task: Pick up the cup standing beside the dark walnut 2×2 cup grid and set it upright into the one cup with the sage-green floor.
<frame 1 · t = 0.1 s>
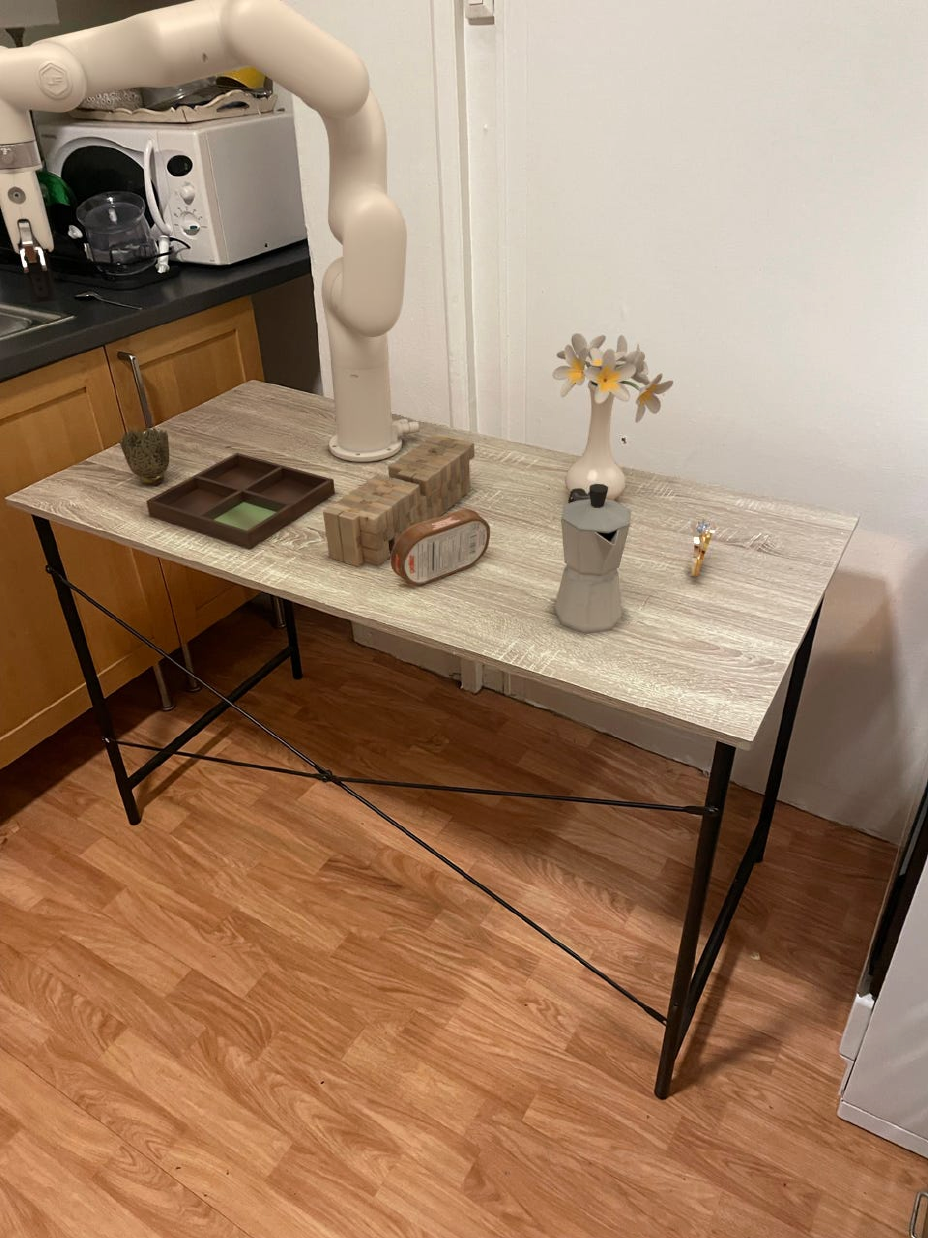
hand: (43, 291, 129), 31 cm above the table, tool pointing down, fingers open, 9 cm apart
cup: (153, 483, 150), on the table
tin: (443, 574, 126), on the table
flower vase: (598, 502, 143), on the table
ring: (695, 575, 126), on the table
grid: (244, 504, 143), on the table
coffee maker: (584, 610, 119), on the table
block tower: (406, 522, 138), on the table
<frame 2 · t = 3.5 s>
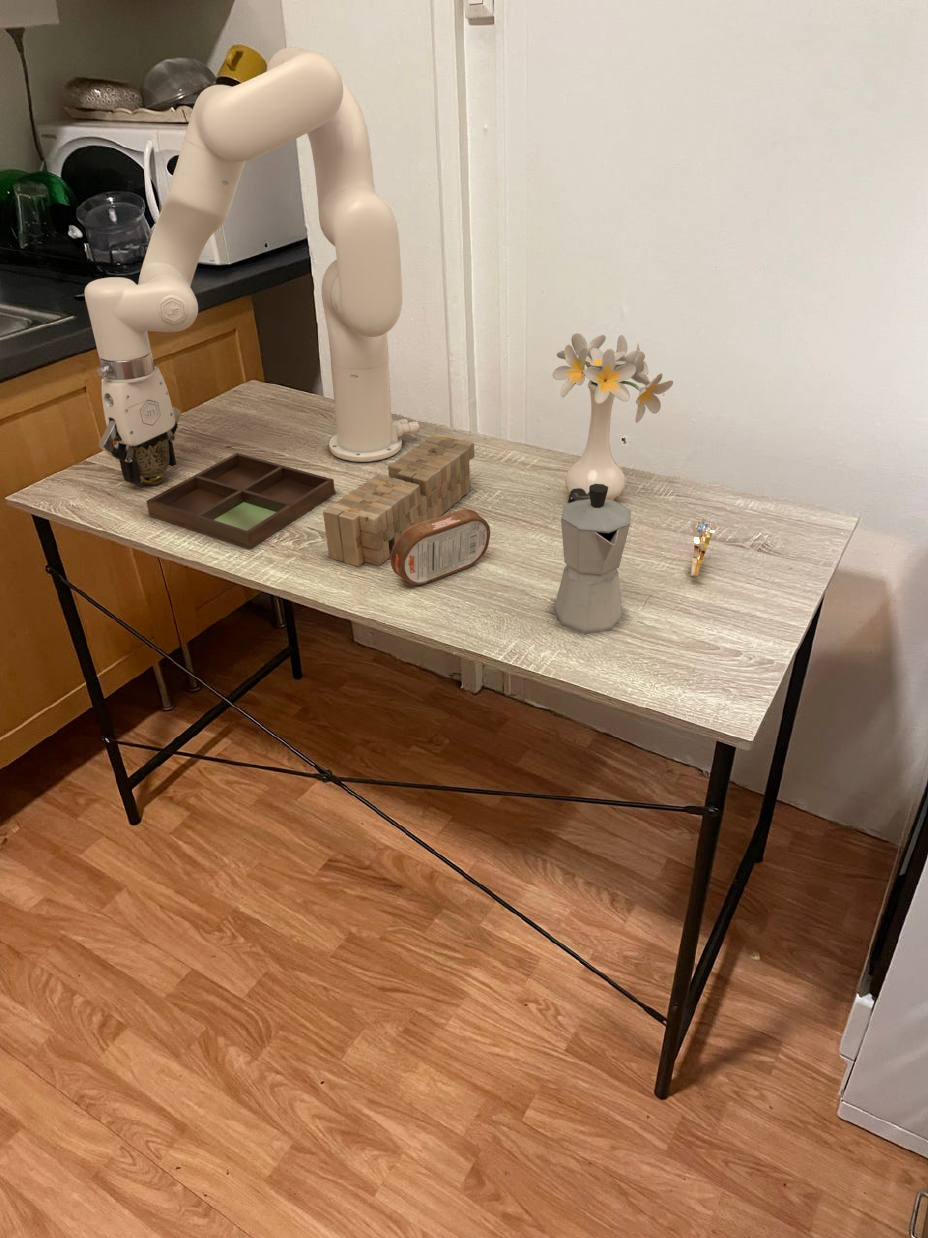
hand: (150, 472, 148), 2 cm above the table, tool pointing down, fingers closed on cup, 7 cm apart
cup: (153, 483, 150), on the table, touching gripper
everything else where it was.
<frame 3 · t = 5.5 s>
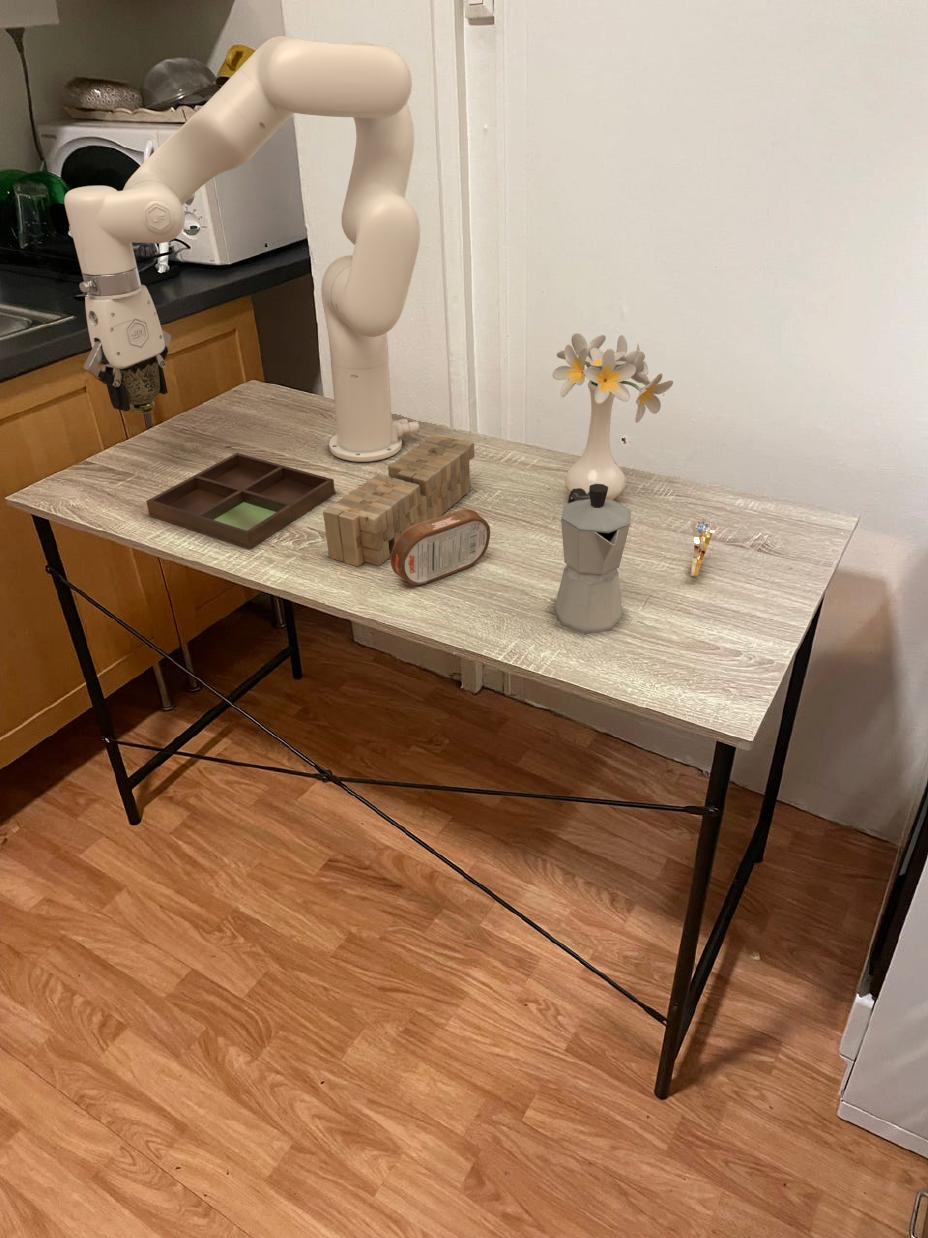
hand: (140, 399, 141), 14 cm above the table, tool pointing down, fingers closed on cup, 7 cm apart
cup: (144, 412, 143), point 12 cm above the table, touching gripper
everything else where it was.
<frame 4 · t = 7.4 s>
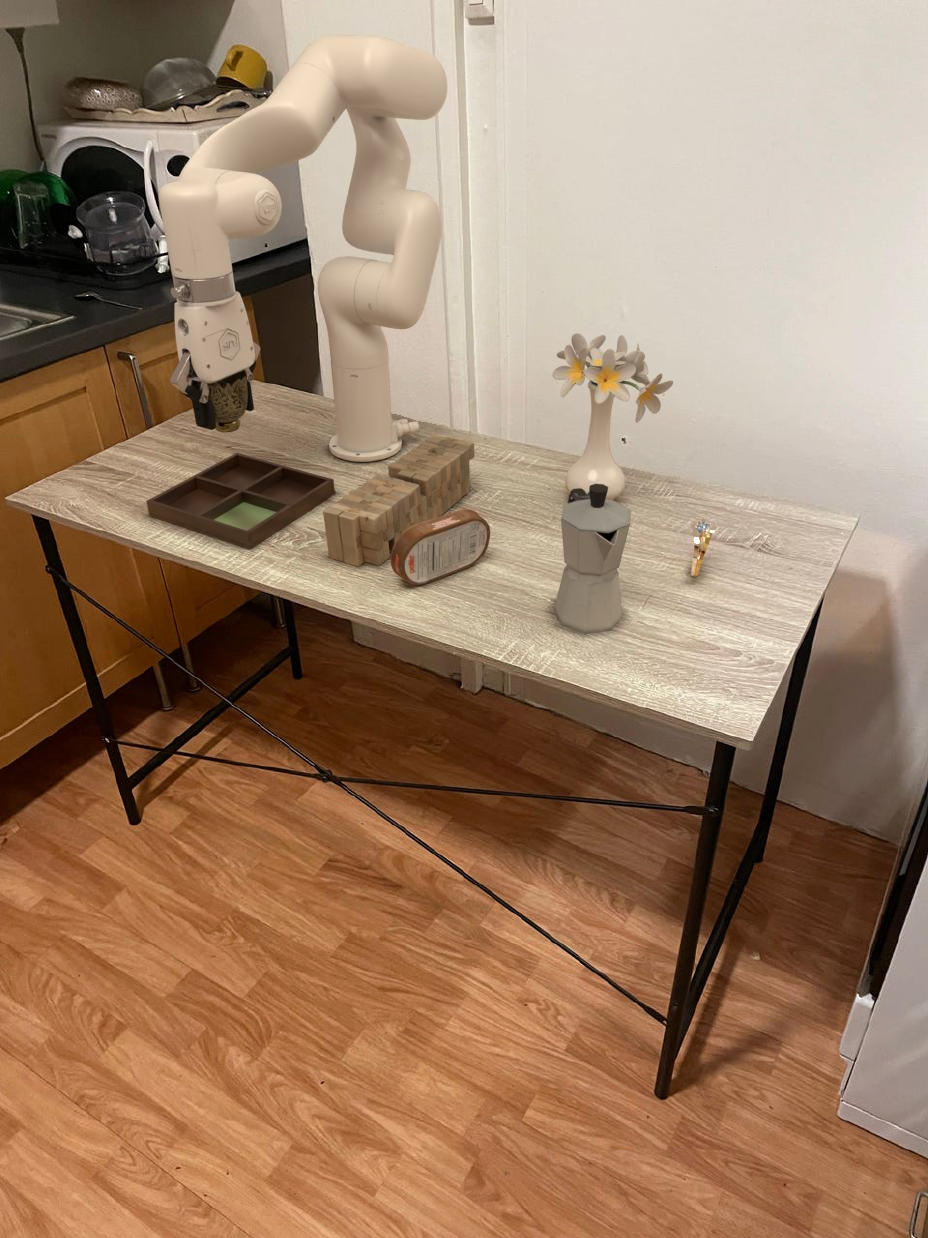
hand: (225, 417, 128), 17 cm above the table, tool pointing down, fingers closed on cup, 7 cm apart
cup: (228, 430, 129), point 15 cm above the table, touching gripper
everything else where it was.
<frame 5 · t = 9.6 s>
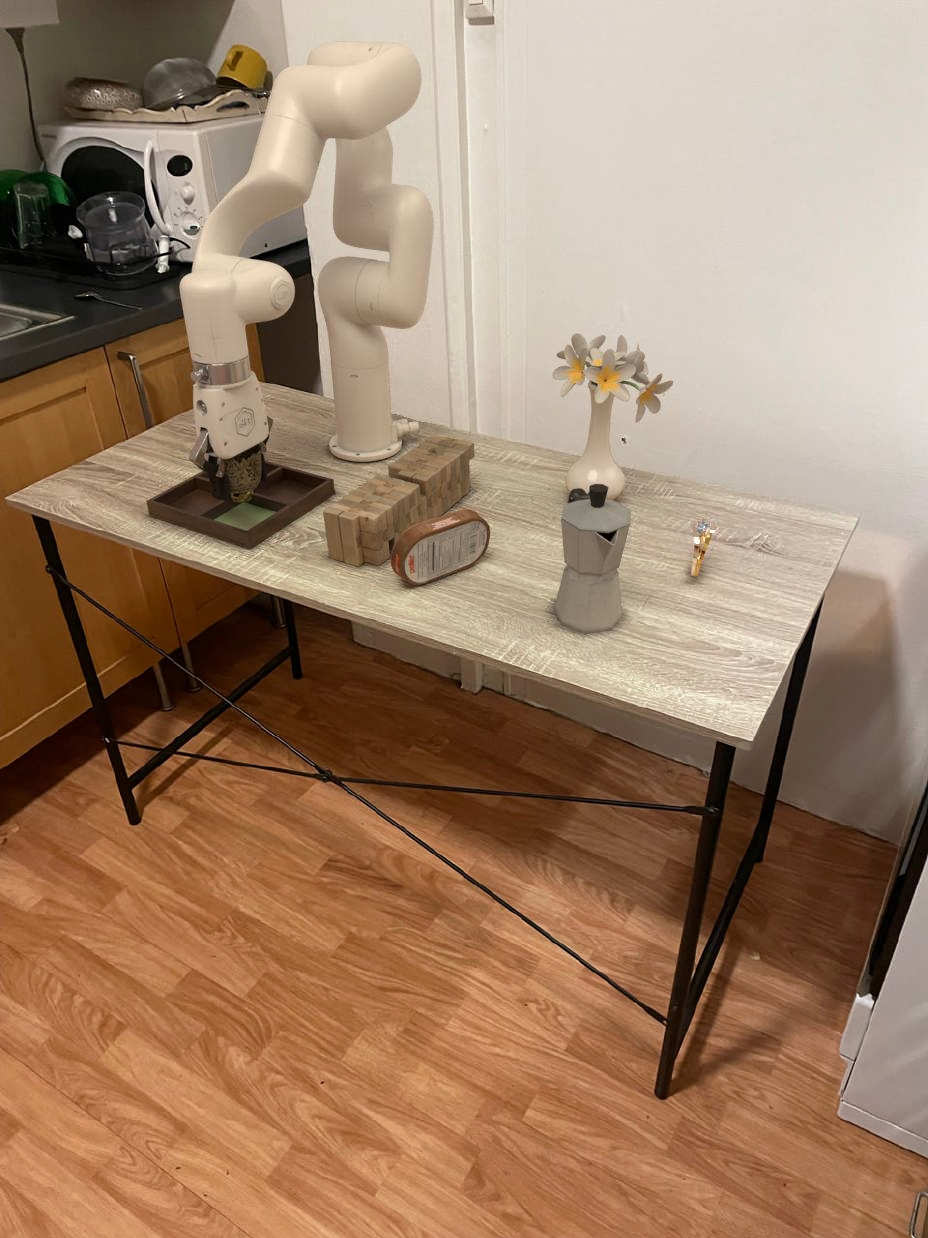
hand: (240, 487, 134), 6 cm above the table, tool pointing down, fingers closed on cup, 7 cm apart
cup: (242, 499, 135), point 4 cm above the table, touching gripper
everything else where it was.
when the fingers open (3 cm above the table, at t = 11.2 s): cup stays where it is, resting on grid.
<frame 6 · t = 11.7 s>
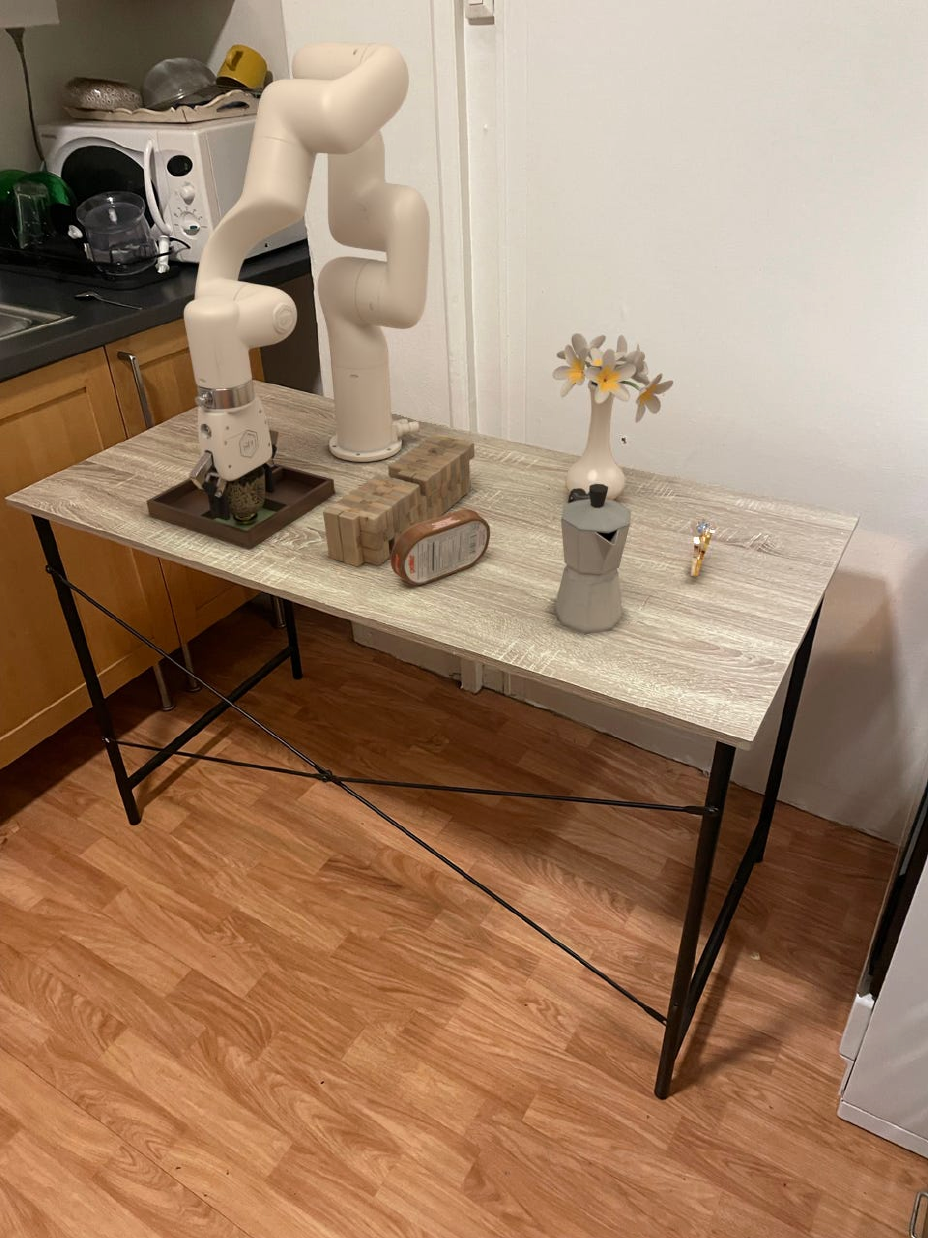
hand: (244, 503, 135), 4 cm above the table, tool pointing down, fingers open, 9 cm apart
cup: (246, 521, 137), point 1 cm above the table, touching grid
everything else where it was.
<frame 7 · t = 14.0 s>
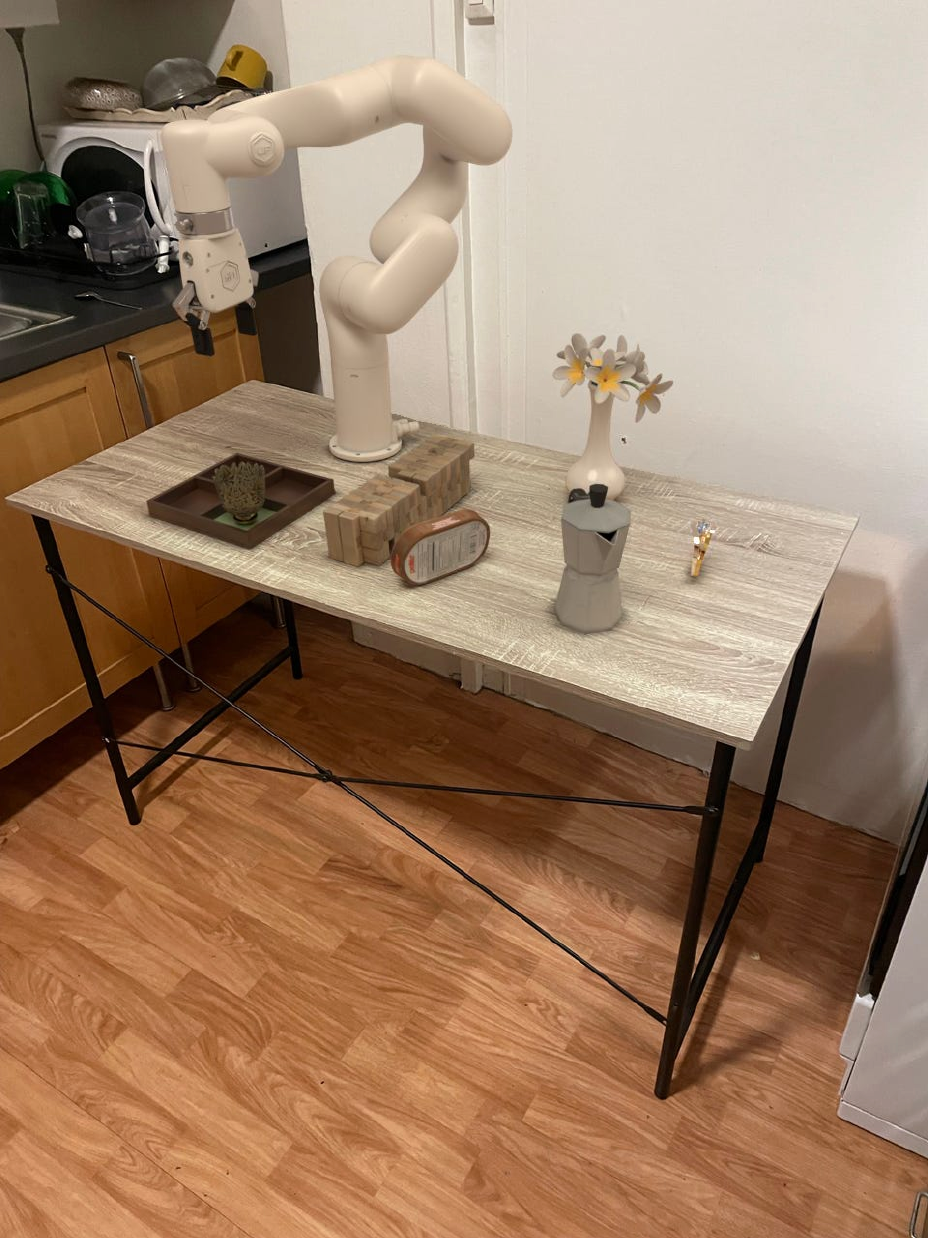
hand: (227, 343, 137), 23 cm above the table, tool pointing down, fingers open, 9 cm apart
nothing on the table moved.
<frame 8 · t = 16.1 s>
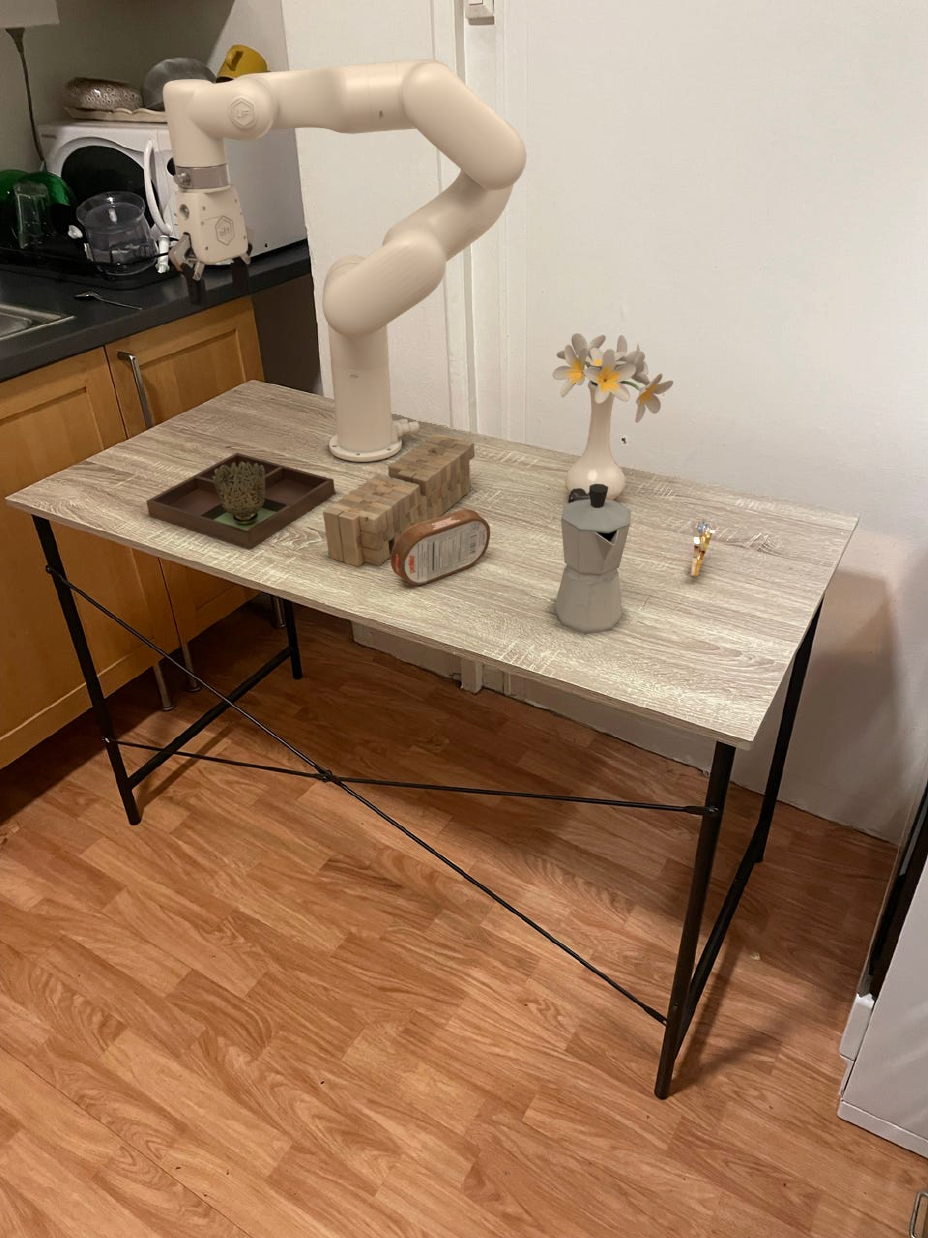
hand: (221, 297, 144), 26 cm above the table, tool pointing down, fingers open, 9 cm apart
nothing on the table moved.
at the end: cup 0.0 cm from the target spot in the grid, point 0.6 cm above the grid's base; cup tilted 0°; the gripper is holding nothing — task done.
